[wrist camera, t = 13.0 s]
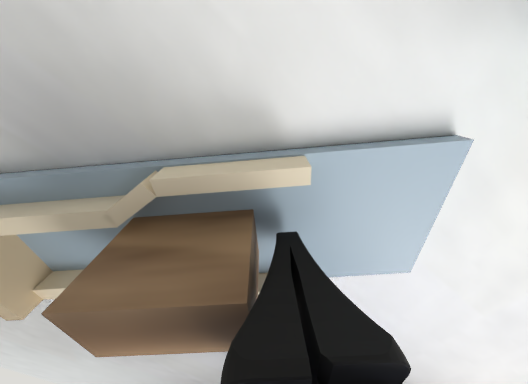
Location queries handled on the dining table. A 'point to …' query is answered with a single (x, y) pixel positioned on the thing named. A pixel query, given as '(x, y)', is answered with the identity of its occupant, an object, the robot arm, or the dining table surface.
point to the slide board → (230, 208)
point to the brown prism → (165, 287)
